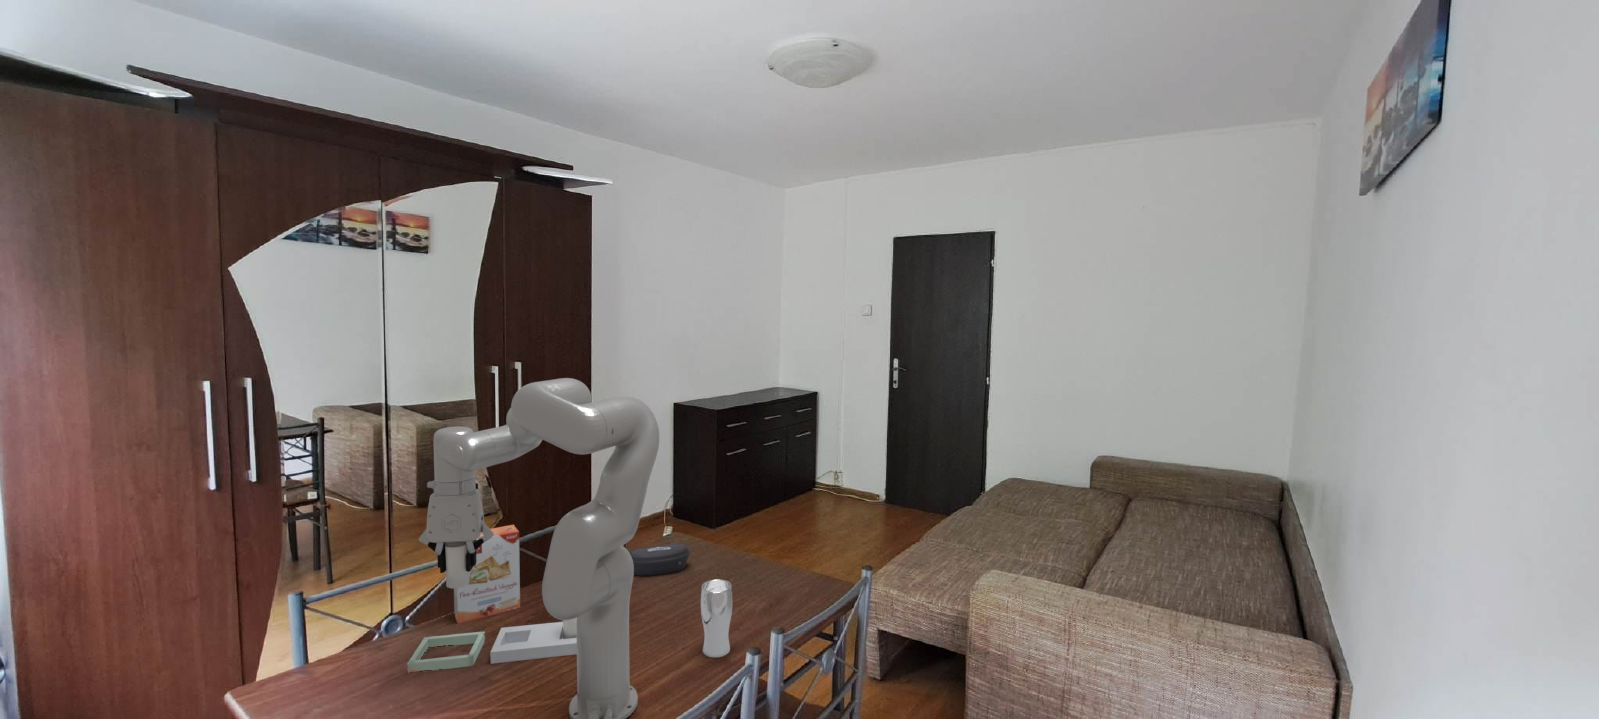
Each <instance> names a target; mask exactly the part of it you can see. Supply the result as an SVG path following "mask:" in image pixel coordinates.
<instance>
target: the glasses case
mask: <svg viewBox="0 0 1599 719" xmlns="http://www.w3.org/2000/svg"><path fill="white" fill-rule="evenodd" d="M629 553H630V555H631V557H632V560H633V564H634V576H637V577H638V576H640V577H641V576H642V577H648V576H659V575H660V576H661V575H667V574H672V573H677V572H680V571H682V570H684V569H685V568H686V566H687V562H688V560H689V557H690V554H691V552H690V550H689V547H688V546H687V545H685V544H683V543H679V544H678V543H676V544H666V545H658V546H651V547H645V548H638V549H634V550H632V551H631V552H629Z"/></svg>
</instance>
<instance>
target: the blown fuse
mask: <svg viewBox="0 0 1599 719" xmlns="http://www.w3.org/2000/svg"><path fill="white" fill-rule="evenodd" d="M467 553H468V547H467V544H466V542H448V543H445V557H446V571H445V579H446V580H445V582H446V584H445V586H446V587H447V588H449V589H454V588H461V587H464V586H466V585H468V584H469V583H470V572H467V571H466V554H467Z"/></svg>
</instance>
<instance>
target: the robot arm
mask: <svg viewBox="0 0 1599 719" xmlns="http://www.w3.org/2000/svg"><path fill="white" fill-rule="evenodd" d="M655 416H656V415H654V413H653V411H652V410H651V408H650V407H649V406H648V405H647V404H646V403H645V402H644V401H642V400H640V399H639V398H636V397H631V396H630V397H629V396H619V397H612V398H611V397H610V398H607V399H603V400H598V401H593V402H592V394H591V391H590V389H589V388H588V386H587V385H586V384H585V383H584V382H582V381H581V380H578V379H575V378H572V377H571V378H570V377H563V378H562V377H561V378H560V377H559V378H556V379H549V380H548V379H547V380H542V381H534V382H530V383H528V384H525V385H524V386H522V387H520V388H519V389H518V390H517V391H516V393H515V394H514V395H513V397H512V400H511V405H510V408H509V409H508V411H507V413H506V417H505V418H506V420H505V421H506V422H505V423H506V424H504V425H502V426H498V427H492V428H488V429H482V430H479V431H475V432H474V429H472V428H471V427H467V426H449V427H448V426H447V427H442V428H440V429H438V430H436V431H435V432H434V435H433V469H434V472H433V473H434V474H433V475H434V476H433V477H434V480H431V481H428V482H427V483H426V487H427V489H432V490H433V493H432V494H430V496H429V500H428V501H429V502H428V506H427V514H426V515H427V516H426V528H425V529H424V530H423V532H422V534H421V535H420V536H419V538H418V541H419V542H420V543H421V544H424V545H426V546H427V548H429V549H431V550H432V551H433V552H434V554H435V555H436V556H437V557H436V558H437V568H438V569H439V573H440V574H444V573H446V557H445V543H448V542H466V544H467V547H468V553H467V554H466V571H467V572H470V571H471V570H472V568H473V567H474V566H475V565H476V550H477V549H478V548H479V547H480V546H481V545H482V544H483V543H484V542H486V541H487V540H489V539H490V538H492V536H493V535H494V533H493V532H492V531H491V530H490V529H491V528H490V527H489V526H488V525H487V524H486V522H485V517H484V508H483V502H482V498H481V494H480V490H479V489H478V488H477V487H476V485H477V484H476V483H477V482H476V481H477V480H476V471H477V470H482V469H485V468H489V467H492V466H495V465H499V464H503V463H507V462H510V461H513V460H516V459H517V458H520V457H522V456H523V455H525V454H527V453H529V452H530V451H532V450H534V449H536V448H538V447H539V445H540V444H541V443H542V441H545V442H547V443H549V444H551V445H553V446H555V447H557V448H560V449H562V450H564V451H566V452H568V453H572V454H574V455H589V454H594V453H597V452H599V451H603V450H607V449H609V448H612V447H615V448H614V449H613V452H612V453H611V455H610V457H609V458H608V460H607V462H606V463H605V465H604V466H603V469H602V471H601V474H600V477H599V483H598V487H597V491H596V493H595V496H594V498H592V500H591V501H589V502H588V503H586V504H584V505H580V506H579V507H576V508H574V509H572V510H571V511H569V512H568V513H566V514H564V516H562V517H561V519H560V520H559V521H558V523H557V524H556V526H555V528H554V531H553V534H552V537H551V542H550V546H549V550H548V555H547V558H546V564H545V568H544V571H543V578H542V585H541V596H542V600H543V604H544V606H545V609H546V611H547V613H549V615H550V616H552V617H553V618H555V619H557V620H561V621H563V620H571V619H574V618H577V622H576V638H577V654H576V679H577V680H576V682H577V685H576V686H577V694H575V696H574V697H573V698H572V699H571V700H570V702H569V706H568V715H569V718H570V719H627V718H628V717H629V716H631V715H632V713H634V712H635V710H636V708H637V707H638V705H639V704H638V703H639V696H638V691H637V690H636V689H635V688H634V687H633V686H632V685H631V684H630V683H631V682H630V600H631V594H632V593H631V592H632V587H633V582H634V577H635V575H634V564H633V560H632V557H631V555H630V553H631V552H629V550H628V549H627V548H626V547H625V546H624V545H625V544H627V543H629V542H630V541H631V540H632V539H633V538H634V537H635V534H636V533H637V530H638V528H639V523H640V520H641V515H642V511H643V507H644V504H645V500H646V494H647V490H648V486H649V482H650V478H651V475H652V472H653V468H654V466H655V462H656V459H657V456H658V451H659V446H660V430H659V424H658V421H657V419H656V417H655ZM481 532H482V533H483V536H482V537H480V538H479V539H478V537H479V536H480V534H481ZM477 539H478V540H477Z"/></svg>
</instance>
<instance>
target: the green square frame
mask: <svg viewBox="0 0 1599 719" xmlns="http://www.w3.org/2000/svg"><path fill="white" fill-rule="evenodd" d="M485 642H486V631H475V632H465V633H454V634H446V635H445V634H444V635H434V636H424V637H423V639H422V641H421V642H420V644H419V645H418V647H417V648H416V650H415V651H414V653H413V654H412V655H411V657H410V659H409V660H408V662H407V664H406V667H407V668H406V670H407V671H410V670H432V671H440V670H439V669H442V670H448V669H451V670H452V669H457V668H458V669H459V668H468V667H473V666H474V665H475V663H476V661H477V658H478V656H479V654H480V652H481V650H482V647H483V646H484V644H485ZM472 644H473V645H472ZM443 645H447V646H446V647H449V646H448V645H454V646H463V645H472V647H471V649H470V651H469V653H468V654H463V655H462V654H461V655H452V656H445V657H443V656H442V657H434V658H425V659H424V658H422V659H421V657H422V656H423V654H424V652H426V653H427V651H428V650H427V649H429V648H428V647H434V646H443ZM426 650H427V651H426ZM424 655H425V654H424ZM423 657H424V656H423ZM420 659H421V660H420Z"/></svg>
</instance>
